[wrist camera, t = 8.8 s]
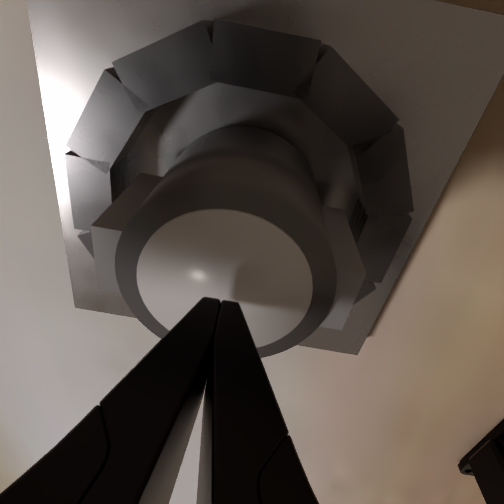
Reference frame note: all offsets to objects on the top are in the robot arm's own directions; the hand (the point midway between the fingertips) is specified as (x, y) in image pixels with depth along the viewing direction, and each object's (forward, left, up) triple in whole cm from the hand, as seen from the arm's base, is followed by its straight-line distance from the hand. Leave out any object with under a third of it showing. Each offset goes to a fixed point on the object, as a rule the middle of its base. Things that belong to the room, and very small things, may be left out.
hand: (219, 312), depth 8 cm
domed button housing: (0, 0, -6) cm, 6 cm away
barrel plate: (0, 0, -7) cm, 7 cm away
